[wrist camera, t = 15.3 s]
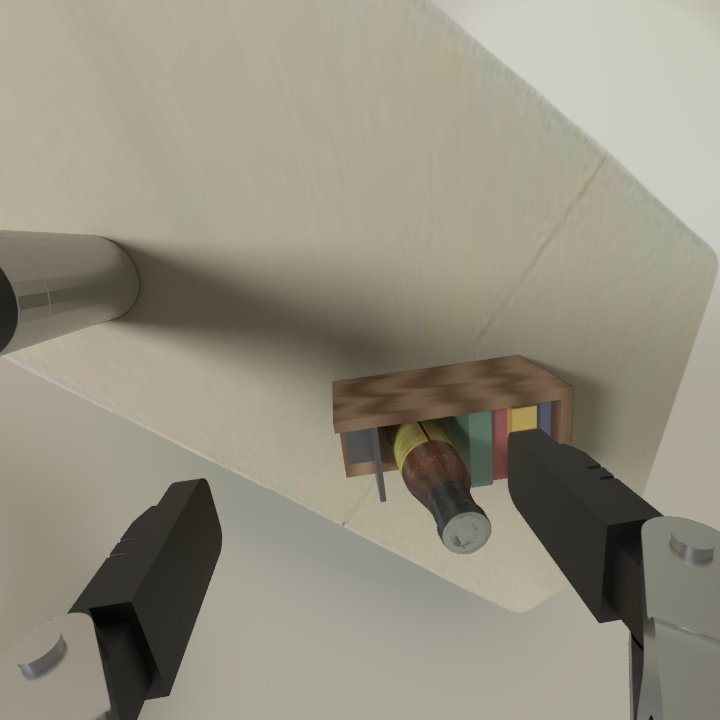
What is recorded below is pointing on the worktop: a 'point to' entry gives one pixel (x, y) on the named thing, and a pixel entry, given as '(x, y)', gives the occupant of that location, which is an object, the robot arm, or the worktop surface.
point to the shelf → (446, 399)
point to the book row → (493, 437)
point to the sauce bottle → (439, 483)
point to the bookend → (366, 453)
